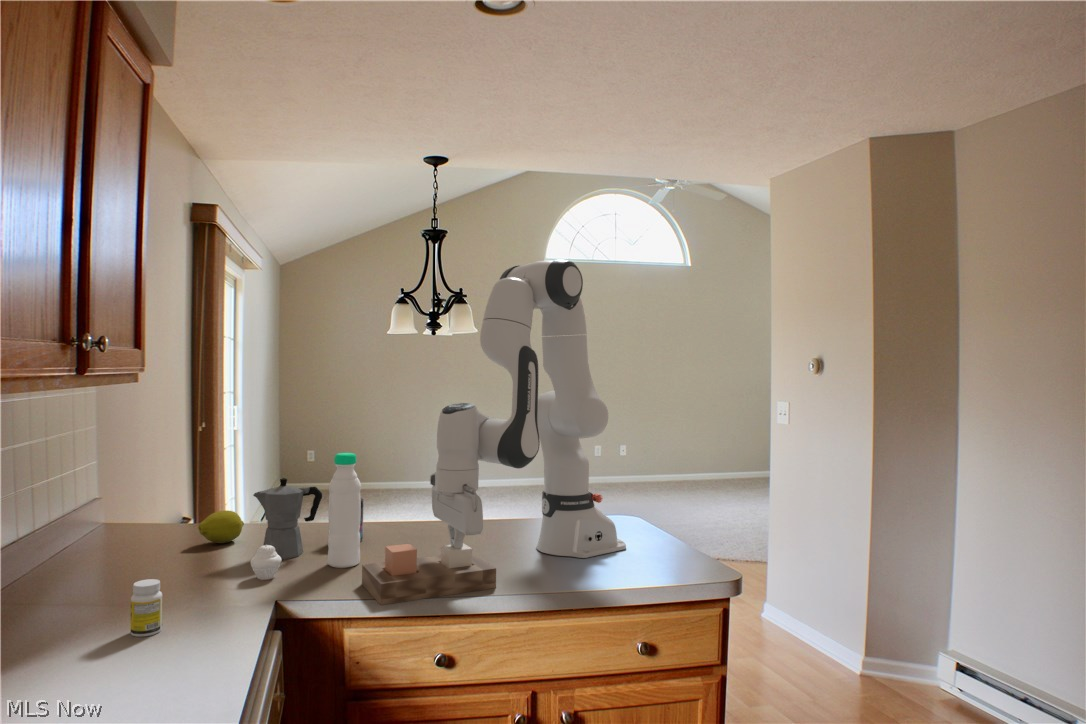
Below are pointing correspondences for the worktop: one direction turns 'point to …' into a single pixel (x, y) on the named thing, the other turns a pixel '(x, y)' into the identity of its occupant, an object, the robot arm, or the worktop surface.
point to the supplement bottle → (146, 608)
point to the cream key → (456, 556)
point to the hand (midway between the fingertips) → (456, 547)
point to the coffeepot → (286, 516)
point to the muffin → (266, 562)
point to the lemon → (221, 526)
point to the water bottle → (344, 513)
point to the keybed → (427, 580)
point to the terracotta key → (400, 559)
